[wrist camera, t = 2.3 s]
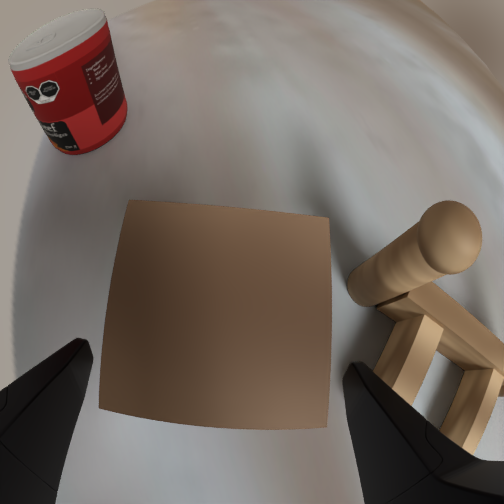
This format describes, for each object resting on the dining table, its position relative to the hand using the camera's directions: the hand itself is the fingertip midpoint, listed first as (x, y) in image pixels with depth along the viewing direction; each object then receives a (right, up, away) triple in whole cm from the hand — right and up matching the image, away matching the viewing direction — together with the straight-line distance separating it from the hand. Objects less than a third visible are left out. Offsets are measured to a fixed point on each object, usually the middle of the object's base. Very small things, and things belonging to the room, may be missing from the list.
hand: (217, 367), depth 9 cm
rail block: (-1, -2, +9) cm, 9 cm away
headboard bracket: (+15, -6, +9) cm, 19 cm away
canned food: (-14, +15, +14) cm, 25 cm away
